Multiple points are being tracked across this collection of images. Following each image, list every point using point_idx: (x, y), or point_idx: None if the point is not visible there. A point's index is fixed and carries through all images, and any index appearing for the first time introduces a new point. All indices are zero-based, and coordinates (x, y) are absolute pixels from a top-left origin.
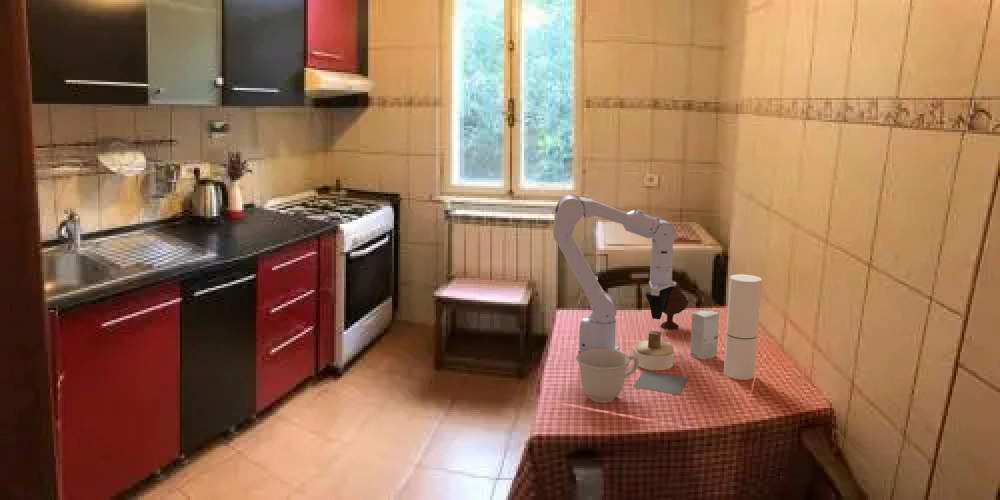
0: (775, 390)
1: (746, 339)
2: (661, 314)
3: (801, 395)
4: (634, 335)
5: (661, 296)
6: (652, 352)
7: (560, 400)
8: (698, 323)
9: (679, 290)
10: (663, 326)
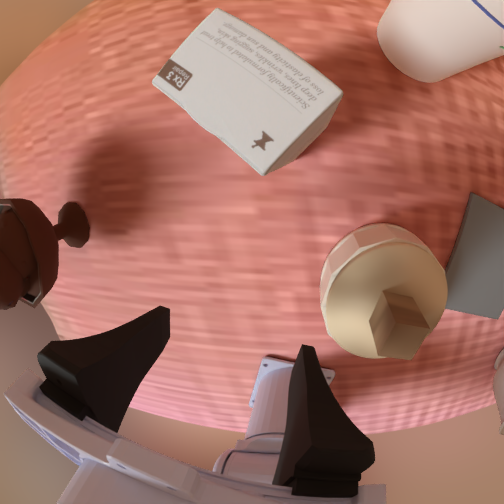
0: None
1: None
2: (317, 361)
3: None
4: None
5: (363, 469)
6: (439, 312)
7: (492, 395)
8: (310, 133)
9: None
10: (82, 242)
